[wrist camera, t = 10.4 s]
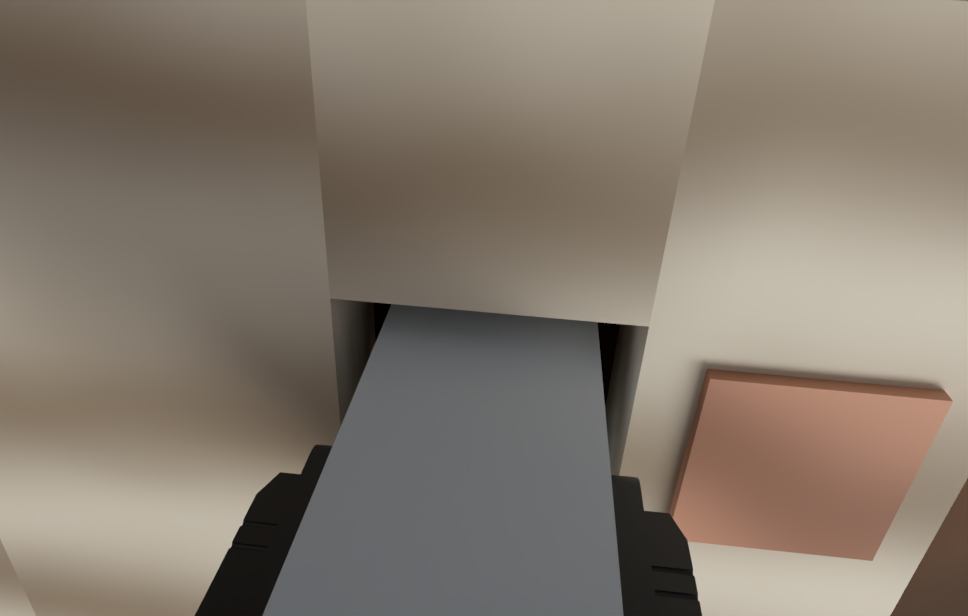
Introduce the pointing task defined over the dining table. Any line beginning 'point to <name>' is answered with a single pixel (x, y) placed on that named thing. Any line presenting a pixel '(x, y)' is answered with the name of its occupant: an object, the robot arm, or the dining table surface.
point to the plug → (464, 477)
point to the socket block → (483, 265)
